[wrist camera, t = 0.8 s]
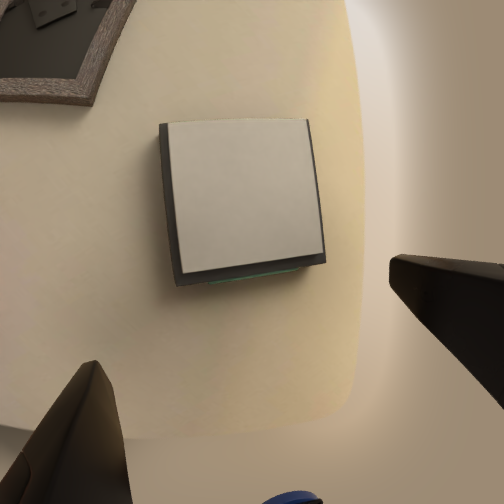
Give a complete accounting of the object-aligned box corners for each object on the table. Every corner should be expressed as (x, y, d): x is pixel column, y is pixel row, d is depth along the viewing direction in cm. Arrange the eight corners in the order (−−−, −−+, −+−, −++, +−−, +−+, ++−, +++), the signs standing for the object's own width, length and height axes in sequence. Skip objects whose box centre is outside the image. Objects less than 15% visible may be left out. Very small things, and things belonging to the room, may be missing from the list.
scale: (313, 263, 23) (331, 266, 21) (175, 285, 21) (177, 291, 18) (296, 127, 23) (312, 116, 20) (159, 133, 20) (159, 120, 17)
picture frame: (44, -46, 15) (-42, 103, 15) (41, -58, 13) (-53, 94, 13) (164, -48, 18) (92, 106, 18) (166, -62, 16) (86, 95, 16)
